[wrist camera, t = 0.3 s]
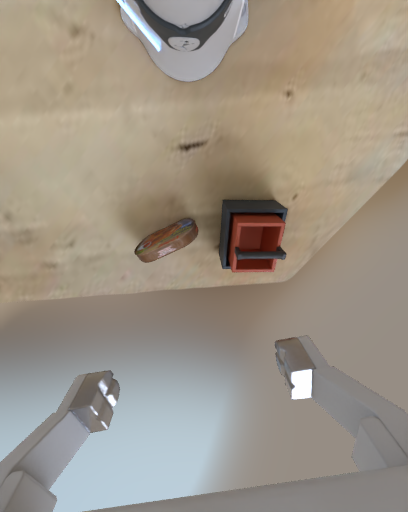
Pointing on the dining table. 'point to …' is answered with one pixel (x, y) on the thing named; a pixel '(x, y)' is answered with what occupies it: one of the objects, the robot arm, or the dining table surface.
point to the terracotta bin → (254, 241)
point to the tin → (167, 240)
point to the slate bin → (244, 206)
